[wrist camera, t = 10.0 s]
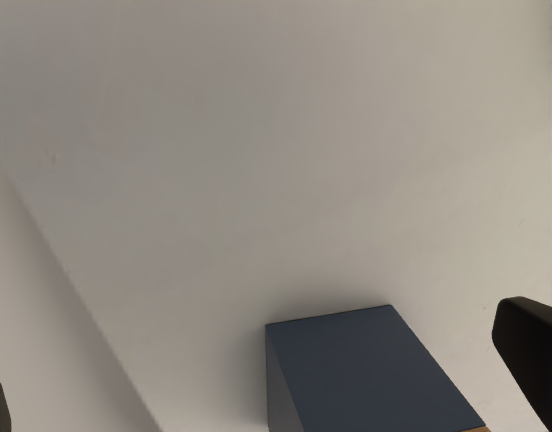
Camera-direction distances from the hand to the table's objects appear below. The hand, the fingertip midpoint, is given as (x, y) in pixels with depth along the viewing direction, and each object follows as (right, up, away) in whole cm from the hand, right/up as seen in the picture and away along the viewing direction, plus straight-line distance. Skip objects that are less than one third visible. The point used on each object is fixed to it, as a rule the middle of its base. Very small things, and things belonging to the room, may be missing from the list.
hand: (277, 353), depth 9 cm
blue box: (+3, -5, +18) cm, 19 cm away
